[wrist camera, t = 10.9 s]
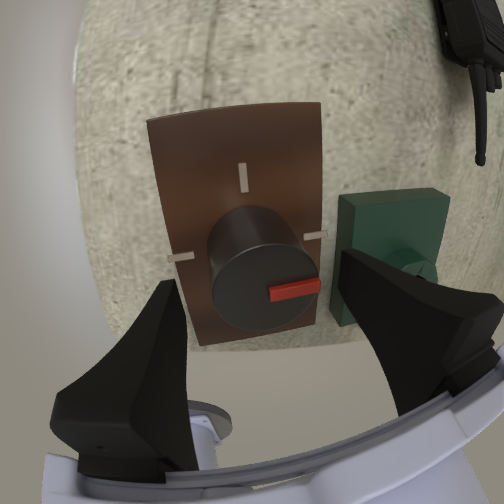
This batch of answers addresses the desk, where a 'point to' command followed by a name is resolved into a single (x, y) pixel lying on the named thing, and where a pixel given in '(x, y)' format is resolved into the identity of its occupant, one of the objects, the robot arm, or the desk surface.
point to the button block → (390, 234)
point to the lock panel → (236, 190)
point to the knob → (259, 270)
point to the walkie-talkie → (475, 52)
